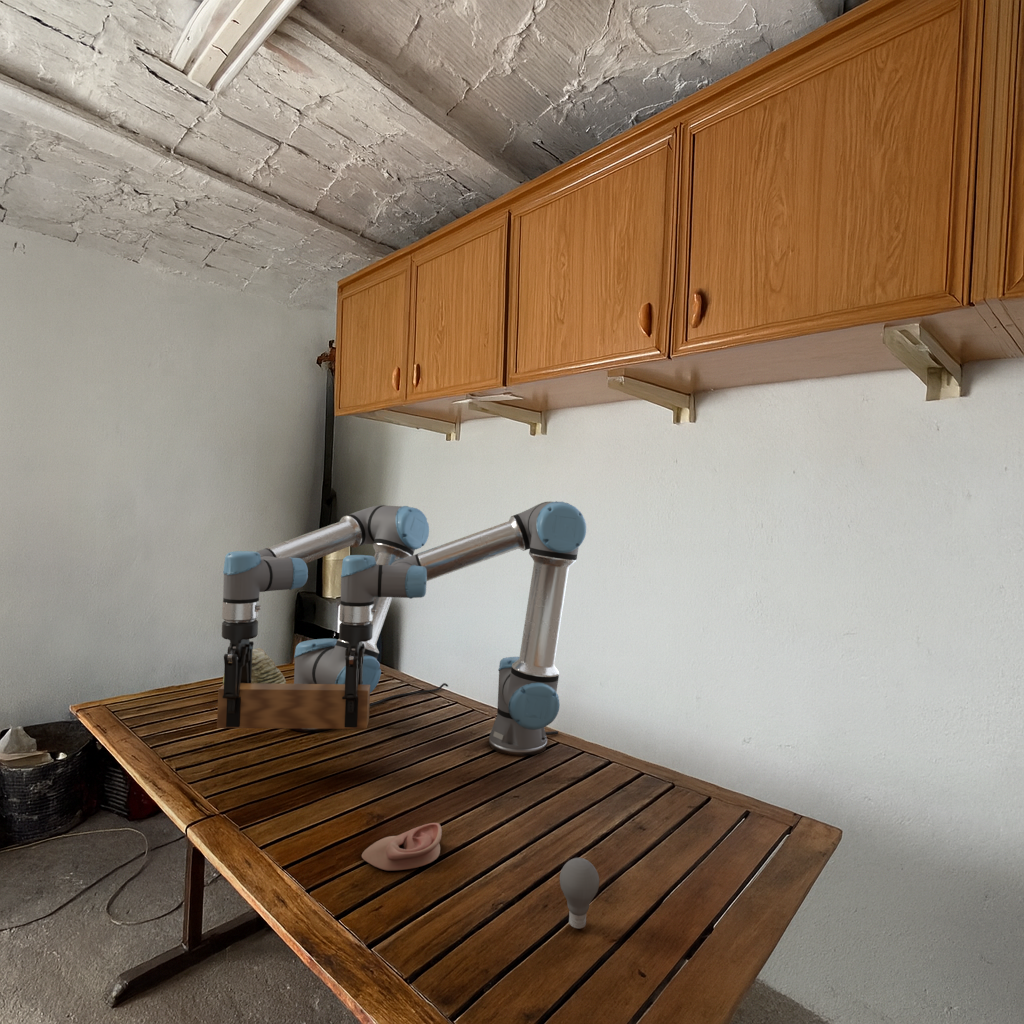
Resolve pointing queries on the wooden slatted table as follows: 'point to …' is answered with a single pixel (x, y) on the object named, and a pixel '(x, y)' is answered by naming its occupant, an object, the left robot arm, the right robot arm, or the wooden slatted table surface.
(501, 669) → the right robot arm
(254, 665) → the fossil
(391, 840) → the anatomical model
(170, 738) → the wooden slatted table surface
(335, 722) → the bar
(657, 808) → the wooden slatted table surface
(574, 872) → the light bulb
